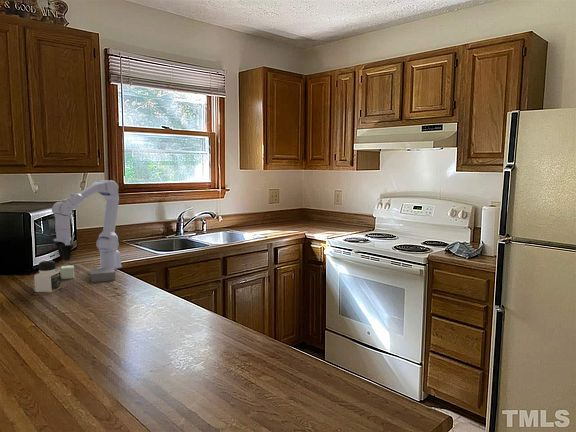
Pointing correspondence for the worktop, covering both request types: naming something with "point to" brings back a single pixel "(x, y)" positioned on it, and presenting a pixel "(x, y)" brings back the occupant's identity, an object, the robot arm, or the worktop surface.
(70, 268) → the sage block
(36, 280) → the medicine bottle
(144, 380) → the worktop surface
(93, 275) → the charcoal plinth
